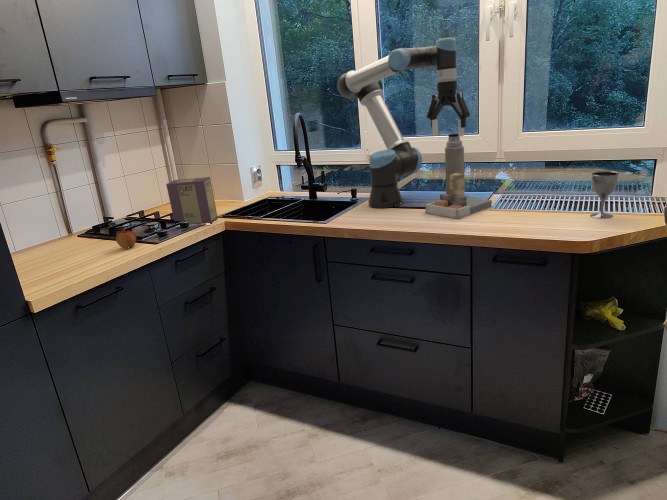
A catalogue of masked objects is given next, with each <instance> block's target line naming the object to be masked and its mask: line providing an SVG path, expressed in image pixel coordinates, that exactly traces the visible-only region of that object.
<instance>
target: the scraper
mask: <svg viewBox="0 0 667 500" xmlns="http://www.w3.org/2000/svg"><path fill="white" fill-rule="evenodd" d="M465 176H466V175H465V173H464V174H460V173H455V174H452V175H450V195H448V194H446V193H441V194H439V200H445V201H448V205H449V206H451V205H453V204H456V205H462V206H463V207H465V206H467V199H466V197H467V196H466V195H465V194H466V193H465V192H466V190H465V189H466V187H465V186H466V185H465V184H466V183H465Z"/></svg>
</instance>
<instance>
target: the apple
mask: <svg viewBox="0 0 667 500" xmlns="http://www.w3.org/2000/svg"><path fill="white" fill-rule="evenodd" d="M120 230H121V232H119V233H117V234H116V236H115V240H116V243H117V245H118V246H119V247H121V248H123V249H124V248H126V249H127V248H128V247H130V248H132V247H131V246H133V247H134V246H135V244H136V243H137V236H136V233H135V232H134V231H132V230H124V231H123V228H120Z"/></svg>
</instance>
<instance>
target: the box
mask: <svg viewBox="0 0 667 500" xmlns="http://www.w3.org/2000/svg"><path fill="white" fill-rule="evenodd" d="M165 185H166V190H167V194H168V198H169V204H170V207H171V208H170V209H171V212H172V216H173V217H172V218H173V222H174V221H188V222H189V224H201V223H210V224H212V223H213V222H214V221H216V220H217V219H218V220H219V218H218V212H217V207H216V201H215V197H214V191H213V185H212V181H211V176H207V177H206V176H205V177H204V176H203V177H194V178H183V179H174V180H171V181H169V182H168V183H166V184H165ZM218 220H217V221H218ZM217 221H216V222H217Z"/></svg>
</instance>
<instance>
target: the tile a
mask: <svg viewBox="0 0 667 500" xmlns="http://www.w3.org/2000/svg"><path fill="white" fill-rule="evenodd" d="M434 202H435V206H441V207H448V201H445V200H440V199H437V200H435V201H434Z"/></svg>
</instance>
